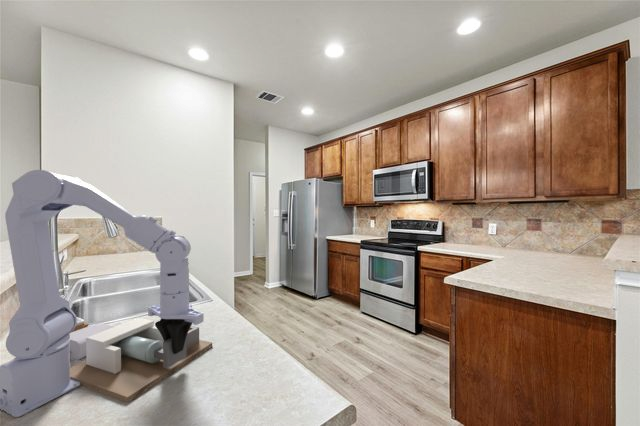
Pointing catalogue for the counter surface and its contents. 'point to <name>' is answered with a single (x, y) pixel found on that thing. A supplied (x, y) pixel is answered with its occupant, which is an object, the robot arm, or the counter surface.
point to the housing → (105, 343)
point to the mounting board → (130, 374)
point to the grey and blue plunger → (150, 350)
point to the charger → (80, 339)
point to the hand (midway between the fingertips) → (175, 350)
